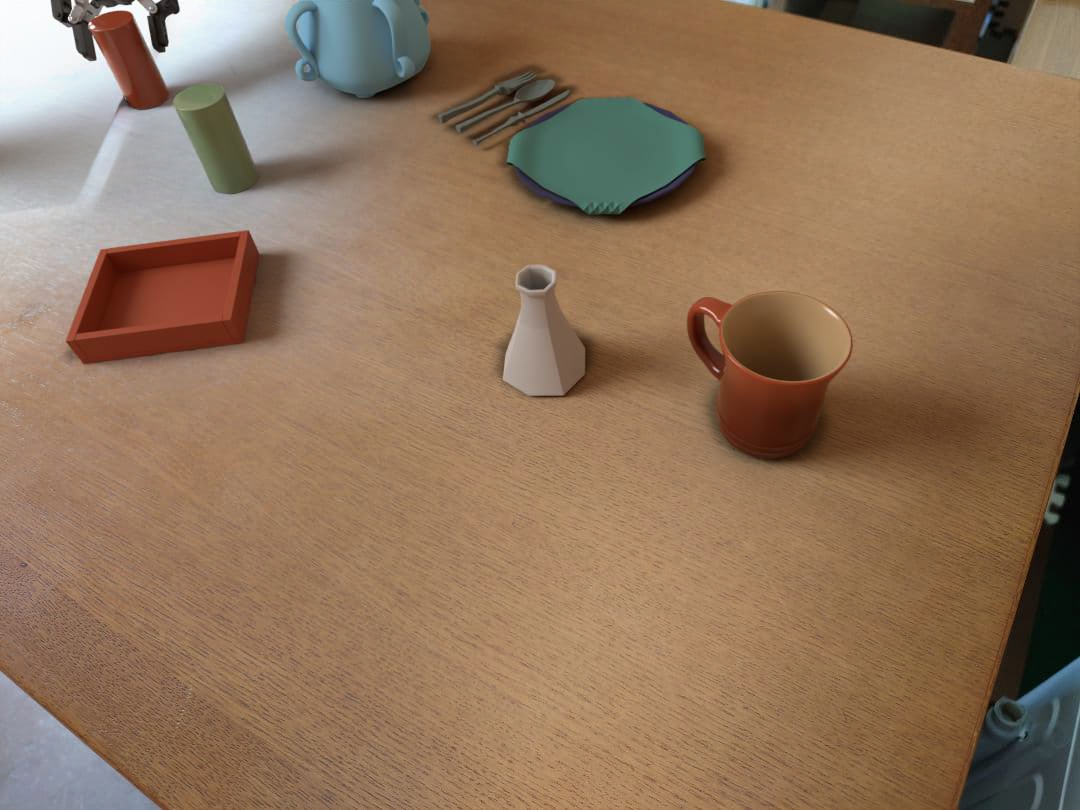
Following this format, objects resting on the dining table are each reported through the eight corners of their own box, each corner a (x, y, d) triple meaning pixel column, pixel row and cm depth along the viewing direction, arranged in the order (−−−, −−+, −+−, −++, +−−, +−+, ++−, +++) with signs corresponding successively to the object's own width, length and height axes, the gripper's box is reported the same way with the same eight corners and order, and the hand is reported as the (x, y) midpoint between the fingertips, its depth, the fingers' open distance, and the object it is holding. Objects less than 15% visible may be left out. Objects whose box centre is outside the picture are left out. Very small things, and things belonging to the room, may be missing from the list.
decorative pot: (290, 106, 96) (250, -7, 86) (333, 42, 106) (302, -67, 95) (416, 110, 94) (391, -7, 83) (448, 44, 103) (429, -68, 93)
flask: (521, 328, 69) (510, 239, 61) (598, 346, 67) (597, 256, 59) (489, 387, 65) (472, 299, 57) (570, 408, 63) (564, 320, 55)
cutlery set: (602, 249, 75) (602, 230, 73) (423, 132, 90) (419, 114, 88) (738, 161, 82) (740, 142, 80) (551, 66, 98) (550, 48, 96)
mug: (843, 422, 60) (878, 329, 52) (778, 494, 56) (805, 405, 49) (716, 348, 66) (730, 254, 58) (650, 408, 62) (655, 317, 54)
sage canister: (208, 196, 85) (168, 113, 78) (216, 169, 89) (177, 86, 81) (256, 190, 85) (220, 106, 78) (261, 163, 89) (227, 80, 81)
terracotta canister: (124, 111, 98) (82, 33, 91) (133, 90, 102) (94, 13, 94) (165, 106, 98) (127, 27, 91) (173, 85, 102) (137, 7, 94)
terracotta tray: (82, 364, 70) (64, 341, 68) (115, 272, 78) (100, 249, 76) (243, 342, 70) (231, 319, 68) (259, 253, 78) (249, 229, 76)
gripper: (20, -94, 89) (48, 51, 91) (143, -110, 90) (169, 36, 91) (58, -62, 97) (83, 72, 98) (172, -76, 97) (195, 58, 99)
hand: (124, 54), depth 95 cm, fingers open, 8 cm apart
